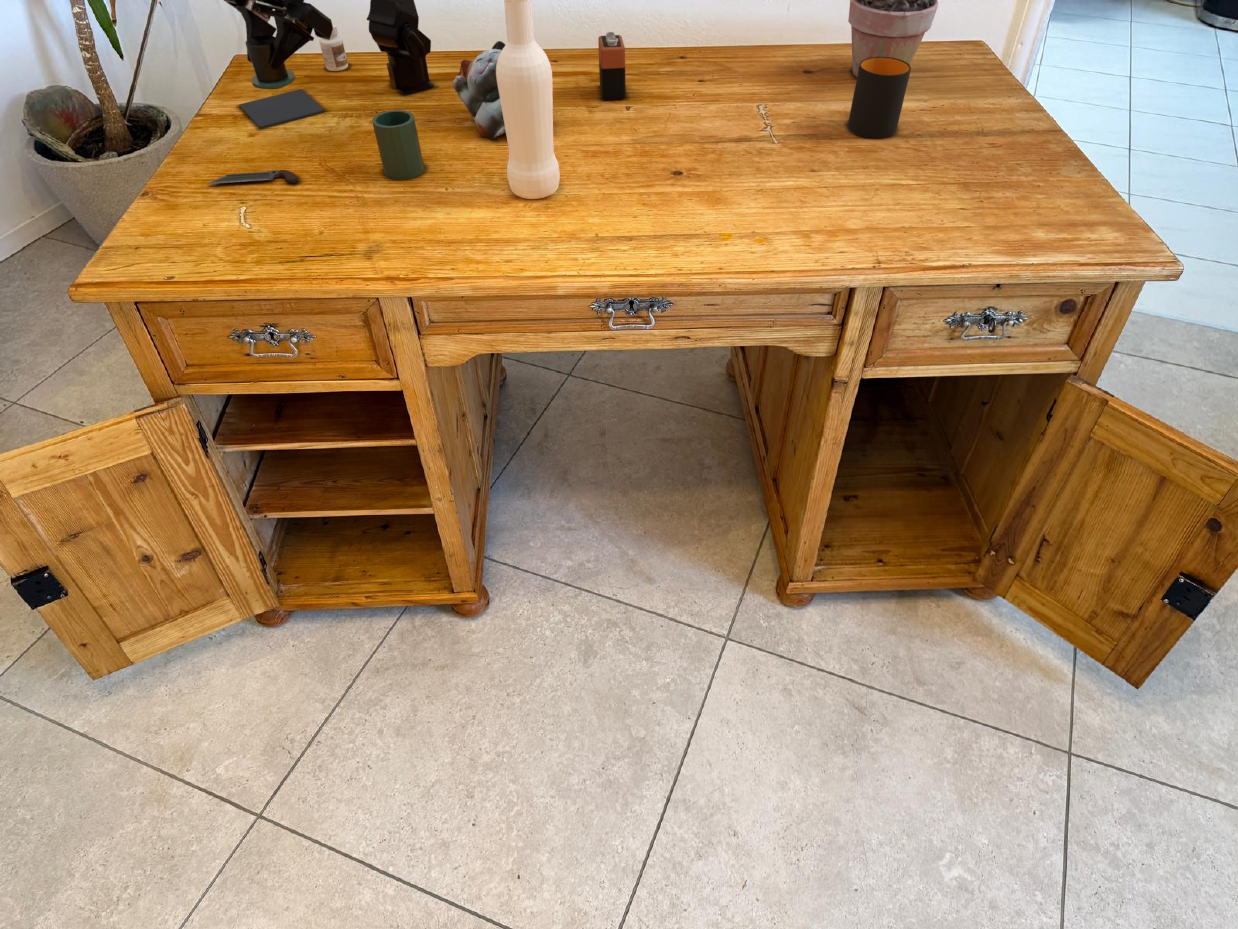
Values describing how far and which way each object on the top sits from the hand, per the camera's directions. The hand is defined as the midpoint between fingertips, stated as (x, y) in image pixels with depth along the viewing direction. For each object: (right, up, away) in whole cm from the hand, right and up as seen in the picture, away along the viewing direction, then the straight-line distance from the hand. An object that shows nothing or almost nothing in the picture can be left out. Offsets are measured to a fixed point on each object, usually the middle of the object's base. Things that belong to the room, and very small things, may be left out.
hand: (261, 64), depth 128 cm
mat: (-6, +2, +21) cm, 22 cm away
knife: (-2, -18, +2) cm, 18 cm away
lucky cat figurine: (+37, -3, +15) cm, 40 cm away
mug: (+100, -4, +14) cm, 101 cm away
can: (+22, -15, +4) cm, 27 cm away
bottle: (+44, -20, -1) cm, 48 cm away
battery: (+56, +7, +24) cm, 61 cm away
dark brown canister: (+1, -1, +3) cm, 3 cm away
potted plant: (+106, +13, +29) cm, 111 cm away
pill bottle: (0, +17, +35) cm, 39 cm away
